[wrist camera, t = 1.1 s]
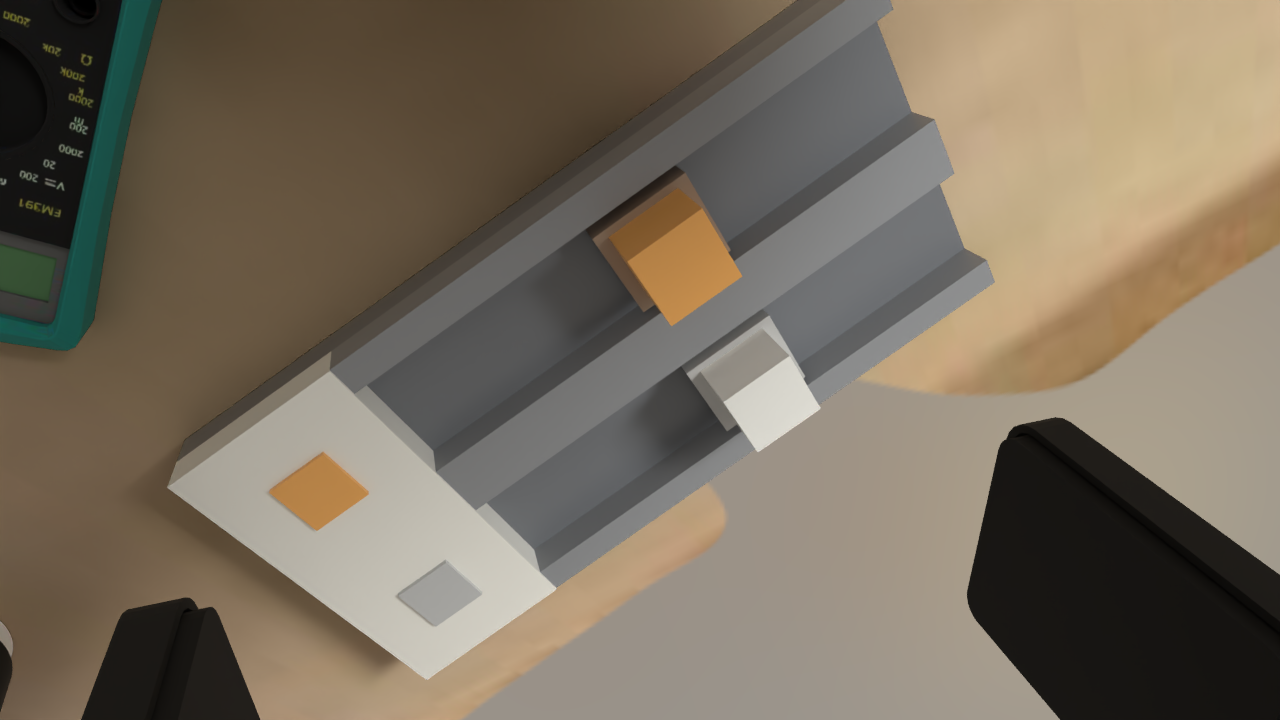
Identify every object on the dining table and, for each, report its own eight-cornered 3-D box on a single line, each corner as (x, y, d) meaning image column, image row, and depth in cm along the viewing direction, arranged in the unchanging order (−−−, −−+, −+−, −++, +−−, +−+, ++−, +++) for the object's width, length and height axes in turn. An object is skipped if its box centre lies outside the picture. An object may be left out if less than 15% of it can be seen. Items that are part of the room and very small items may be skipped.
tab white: (757, 303, 33) (797, 342, 30) (792, 363, 35) (834, 406, 32) (676, 360, 33) (708, 404, 30) (716, 417, 35) (750, 464, 32)
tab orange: (674, 164, 29) (710, 192, 26) (719, 240, 31) (758, 274, 28) (584, 228, 30) (609, 263, 26) (634, 300, 31) (664, 340, 28)
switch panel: (837, -29, 30) (885, -25, 27) (952, 258, 37) (999, 284, 34) (184, 440, 31) (165, 490, 28) (423, 628, 38) (426, 683, 35)
